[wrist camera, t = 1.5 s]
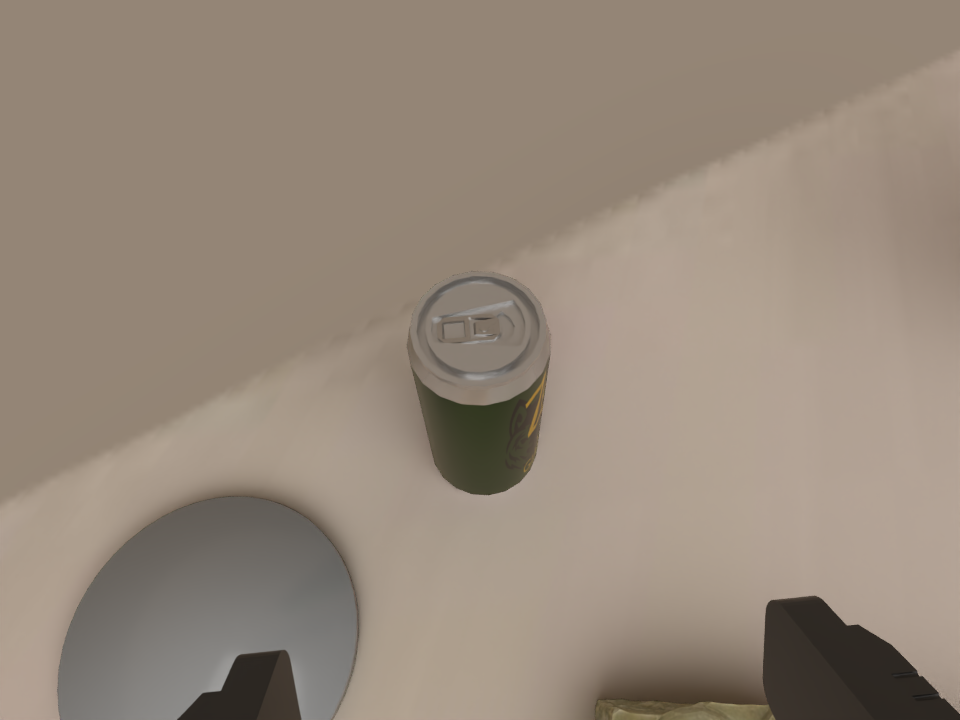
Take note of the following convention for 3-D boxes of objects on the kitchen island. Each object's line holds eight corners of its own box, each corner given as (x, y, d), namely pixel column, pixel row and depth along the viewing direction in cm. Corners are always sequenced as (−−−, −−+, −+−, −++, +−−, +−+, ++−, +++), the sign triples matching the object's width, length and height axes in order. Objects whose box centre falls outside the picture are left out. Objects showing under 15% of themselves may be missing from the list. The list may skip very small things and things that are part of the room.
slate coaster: (308, 460, 33) (304, 454, 33) (401, 718, 28) (399, 717, 27) (50, 572, 31) (40, 568, 30) (93, 882, 25) (81, 887, 24)
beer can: (435, 504, 32) (405, 399, 22) (430, 407, 35) (401, 272, 24) (542, 495, 32) (563, 385, 22) (529, 398, 35) (542, 260, 24)
